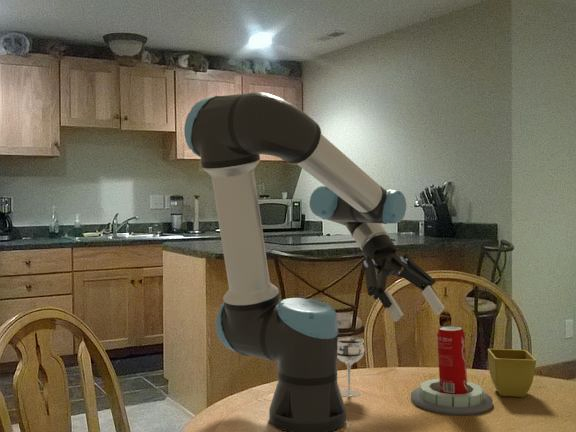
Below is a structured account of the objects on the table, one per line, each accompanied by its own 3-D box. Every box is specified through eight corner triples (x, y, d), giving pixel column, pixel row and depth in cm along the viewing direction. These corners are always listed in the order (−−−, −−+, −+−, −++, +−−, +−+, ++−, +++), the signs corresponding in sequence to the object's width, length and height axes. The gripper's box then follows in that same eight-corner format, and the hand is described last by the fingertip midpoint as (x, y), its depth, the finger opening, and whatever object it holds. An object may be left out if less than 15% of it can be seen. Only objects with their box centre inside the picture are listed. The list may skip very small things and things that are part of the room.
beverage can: (468, 401, 140) (469, 331, 139) (436, 399, 141) (437, 329, 141) (466, 393, 146) (467, 325, 145) (436, 391, 147) (437, 323, 146)
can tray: (423, 416, 134) (423, 401, 134) (402, 389, 151) (402, 376, 151) (505, 414, 136) (505, 399, 135) (475, 388, 153) (475, 375, 152)
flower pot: (525, 388, 153) (526, 349, 152) (536, 400, 144) (537, 359, 144) (486, 387, 154) (487, 348, 153) (494, 399, 145) (495, 358, 144)
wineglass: (369, 396, 147) (370, 342, 146) (341, 399, 144) (342, 344, 144) (355, 387, 153) (355, 335, 153) (328, 390, 151) (328, 338, 150)
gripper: (402, 250, 171) (447, 318, 160) (327, 255, 156) (371, 331, 145) (418, 230, 166) (465, 299, 155) (343, 234, 152) (389, 311, 140)
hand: (420, 315), depth 150 cm, fingers open, 13 cm apart
